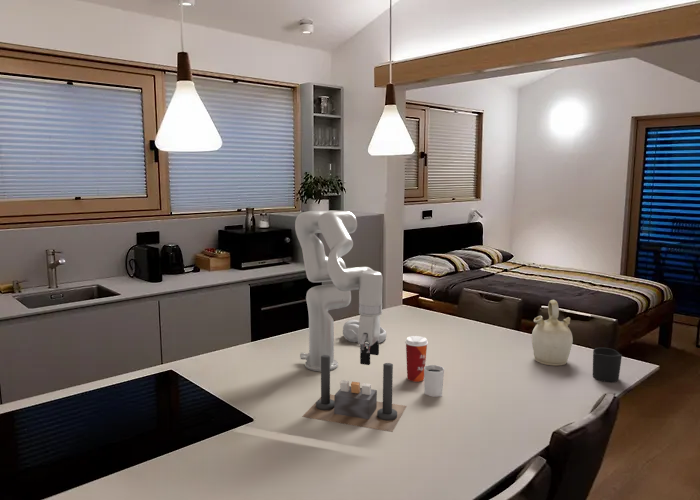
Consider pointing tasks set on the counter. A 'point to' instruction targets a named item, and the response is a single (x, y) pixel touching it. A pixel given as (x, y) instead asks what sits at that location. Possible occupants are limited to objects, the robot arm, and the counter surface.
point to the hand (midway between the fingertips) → (369, 359)
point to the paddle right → (366, 389)
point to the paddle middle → (355, 387)
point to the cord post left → (325, 385)
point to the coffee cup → (416, 357)
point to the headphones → (352, 331)
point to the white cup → (433, 380)
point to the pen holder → (606, 364)
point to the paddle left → (344, 385)
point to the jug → (552, 338)
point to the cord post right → (387, 395)
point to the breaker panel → (357, 420)
